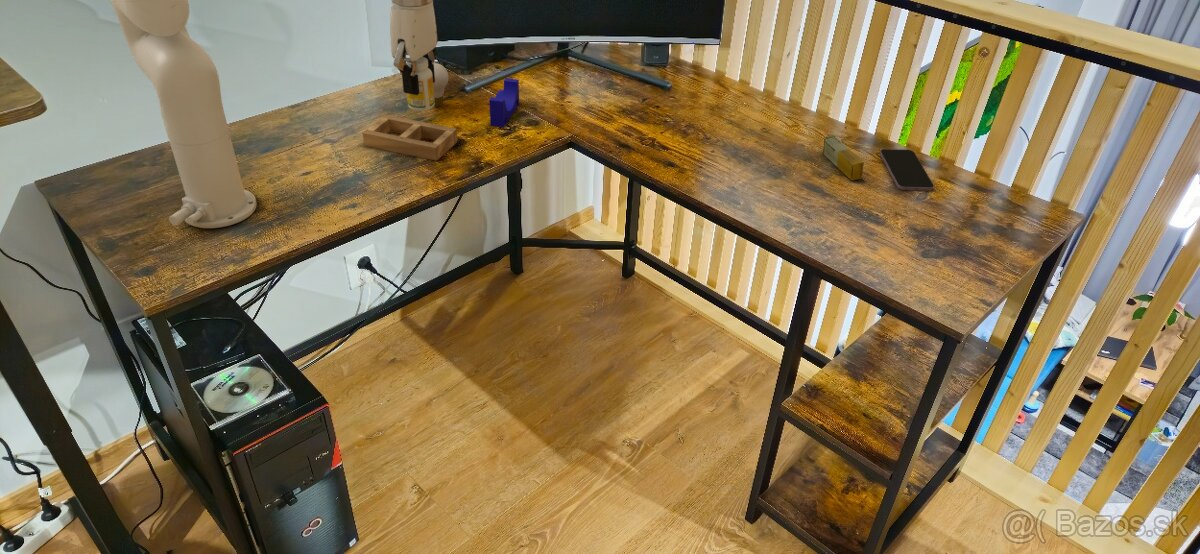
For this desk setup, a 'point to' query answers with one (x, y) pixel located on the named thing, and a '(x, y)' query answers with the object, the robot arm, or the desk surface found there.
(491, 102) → the cable clip
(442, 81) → the light bulb
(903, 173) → the smartphone
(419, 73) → the supplement bottle
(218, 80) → the robot arm
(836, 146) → the medication box
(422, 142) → the caddy
